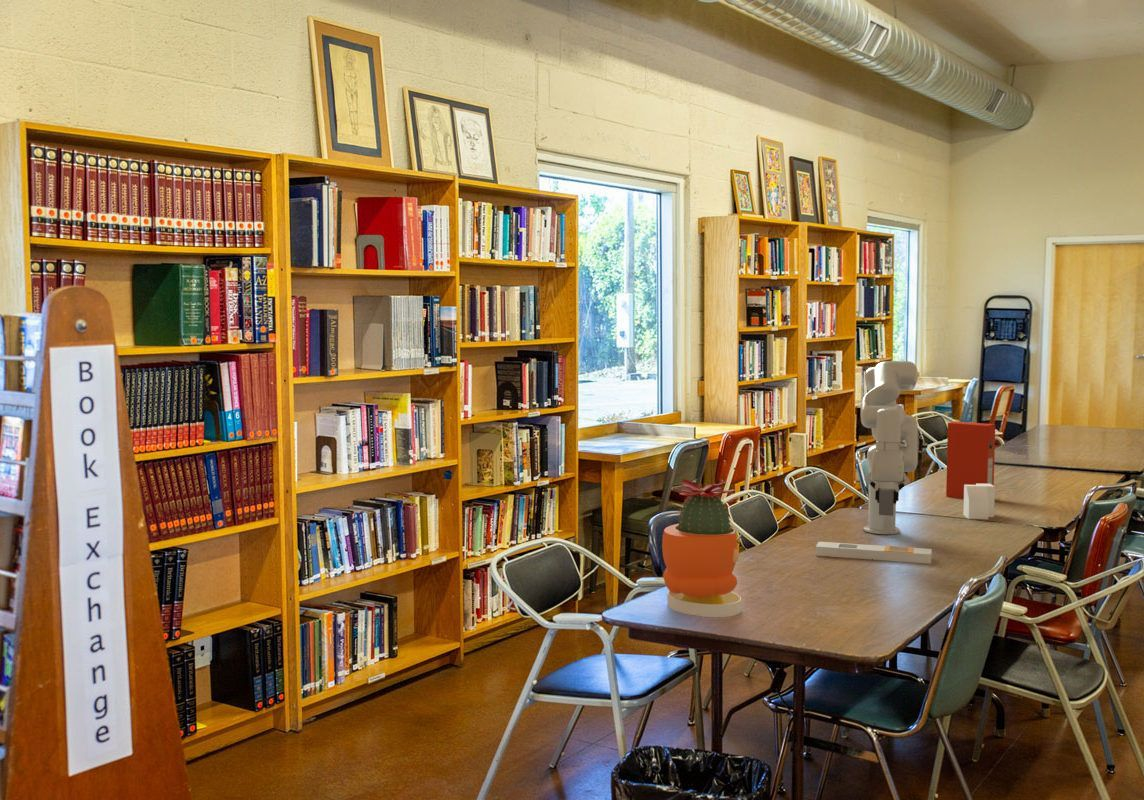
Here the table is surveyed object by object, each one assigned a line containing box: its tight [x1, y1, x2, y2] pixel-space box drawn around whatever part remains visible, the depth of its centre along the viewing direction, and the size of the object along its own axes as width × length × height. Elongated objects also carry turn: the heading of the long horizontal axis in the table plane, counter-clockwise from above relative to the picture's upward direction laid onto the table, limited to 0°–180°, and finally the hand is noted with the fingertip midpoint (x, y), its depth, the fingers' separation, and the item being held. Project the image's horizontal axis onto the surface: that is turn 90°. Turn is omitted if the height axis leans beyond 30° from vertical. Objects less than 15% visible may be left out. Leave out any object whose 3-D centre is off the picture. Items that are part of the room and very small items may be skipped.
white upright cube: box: [962, 483, 996, 520], centre depth 423 cm, size 11×11×12 cm
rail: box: [815, 541, 933, 565], centre depth 355 cm, size 8×36×3 cm, turn 71°
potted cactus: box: [661, 479, 742, 618], centre depth 292 cm, size 22×22×35 cm
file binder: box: [945, 421, 996, 500], centre depth 463 cm, size 8×17×32 cm, turn 47°
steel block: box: [879, 488, 895, 516], centre depth 352 cm, size 4×4×8 cm
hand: (886, 502), depth 352 cm, fingers closed on steel block, 4 cm apart
